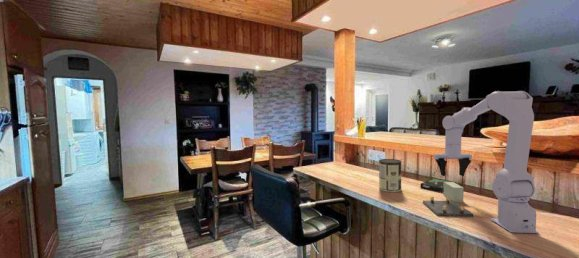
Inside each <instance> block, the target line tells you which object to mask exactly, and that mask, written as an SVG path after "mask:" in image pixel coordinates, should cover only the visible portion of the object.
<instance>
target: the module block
mask: <svg viewBox="0 0 579 258" xmlns="http://www.w3.org/2000/svg"><path fill="white" fill-rule="evenodd" d="M454 182H455V181H450V182H444V192H443V196H444V197H450V201H454V202H456V203H459V202H464V187H463V186H462V185H461V186H460V185H459V184H457V183H456V182H455V183H454Z"/></svg>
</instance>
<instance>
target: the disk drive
mask: <svg viewBox="0 0 579 258" xmlns="http://www.w3.org/2000/svg"><path fill="white" fill-rule="evenodd" d="M444 182H451V181H449V180H446V179H438V178H432V179H429V180H426V181H424V182H421V183H420V188H421V189H425V190H429V191H432V192H437V193H442V194H444ZM453 182H454V183H456V182H455V181H453Z"/></svg>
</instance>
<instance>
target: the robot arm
mask: <svg viewBox="0 0 579 258" xmlns="http://www.w3.org/2000/svg"><path fill="white" fill-rule="evenodd" d="M533 99H534V98H533V96H532V95H530V94H529V93H528V92H526V91H525V90H517V91H500V90H497V91H496V90H495V91H493V92H491V93H490V94H487V95H486V96H485V98H484V99H482V100H481V101H480V102H478V103H477V104H476V105H475V104H474V105H473V106H472V107H464V106H463V107H462V108H461V110H459V111H458V112H454V113H453V115H446V116H444V117H443V119H442V122H441V123H442V127H443V129H445V143H444V144H445V147H444V149H445V150H444V153H434V154H433V159H434V160H435V161H436V164H437V166H438V168H439V171H440V175H441V176H443V177H446V166H447V163H448V161H447V160H458V164H459V165H458V167H459V169H458V172H459V173H458V174H459V176H461V177H465V174H466V171H467V168H468V167H469V165H471V163H472V160H473V154H471V155H470V153H462V135H463V133H464V128H465V127H466V125H468V124H470V123H472V122H475V120H477V118H478V116H480V115H482V114H484V113H487V112H489V111H491V110H492V111H493V112H495V113H497V114H499V115H501V116H503V117H504V118H506V119H507V120H508V121H509V123H508V130H507V131H508V132H507V140H506V147H505V154H504V163H503V168H502V169H501V170H499V171H498V172H497V173H496V174H495V179H494V180H493V182H492V183H491V184H492V185H491V188H492V192H493V194H494V195H495V196H496V198H497V217H496V218H495V217H492V218H490V220H491V221H492V222H494V223H495V224H497V225H499V226H500V227H502V228H503V229H505V230H506V231H509V233H519V234H520V233H521V234H523V233H525V234H539V231H538V230H537V228H536V227H537V211H536V209H534V207H532V206H531V205H530V204H529V202H528V201H530V200H531V199H530V198H532V197H533V196H534V195H535V193H536V187H535V184H534V176H533V175H532V174H530V173H529V172H528V171H527V170H528V169H527V168H528V162H529V155H530V148H531V142H532V141H531V140H532V136H533V127H534V121H535V114H534V111H533V108H532V106H533V102H534V101H533Z"/></svg>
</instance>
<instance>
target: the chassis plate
mask: <svg viewBox="0 0 579 258" xmlns="http://www.w3.org/2000/svg"><path fill="white" fill-rule="evenodd" d="M445 197H446V196H445ZM422 204H423V205H424V206H426V207H427V208H428V209H429V210H430V211H431V212H433V213H434V214H435V215H436V216H438V217H466V218H467V217H468V218H470V217H472V218H474V213H473V212H471V211H469V210H468V209H467V208H465V206H462V205H461V204H459V203H458V202H457V201H452V200H450V197H446V198H445V200H435V197H434V196H430V200H422Z"/></svg>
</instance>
